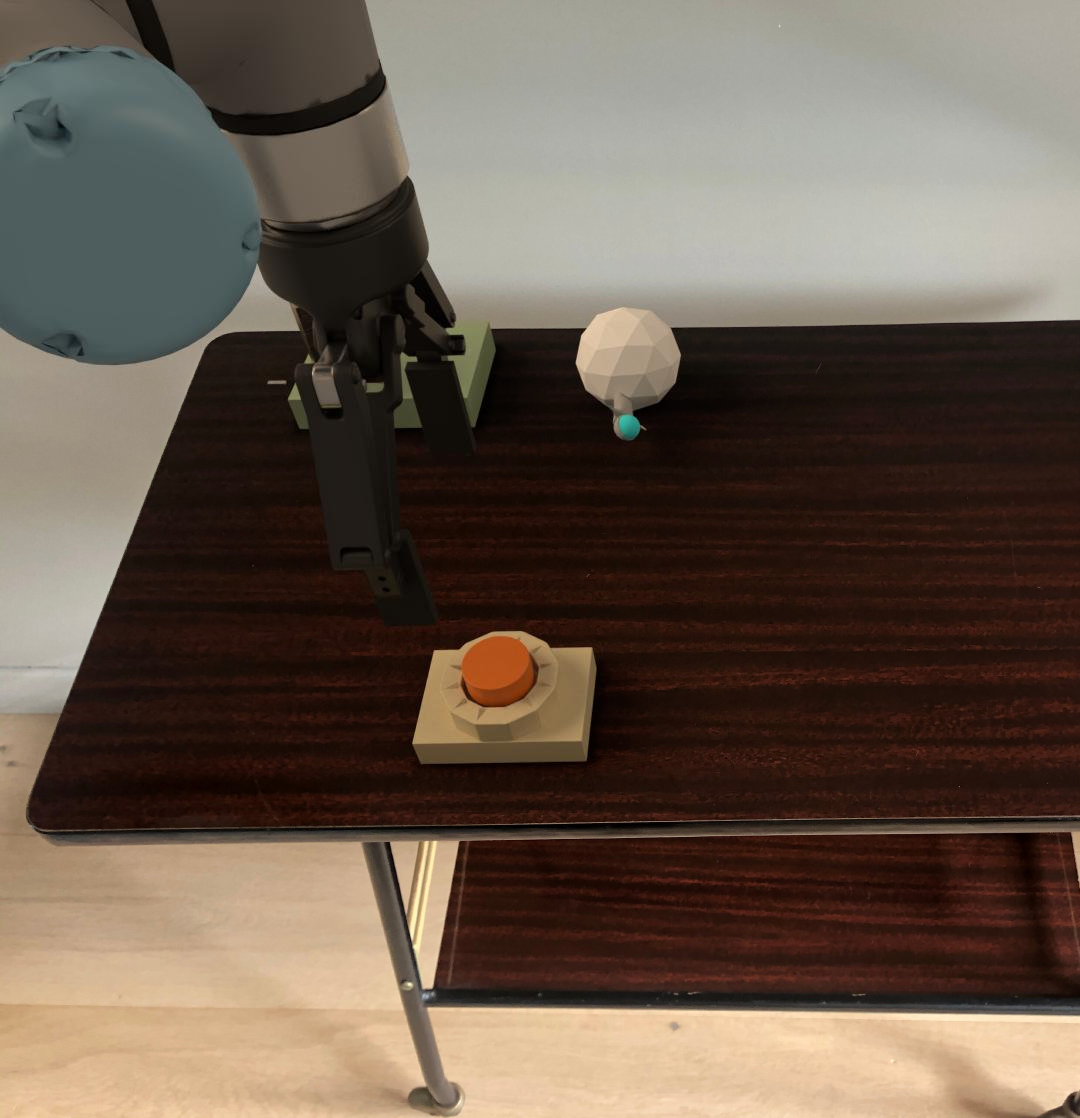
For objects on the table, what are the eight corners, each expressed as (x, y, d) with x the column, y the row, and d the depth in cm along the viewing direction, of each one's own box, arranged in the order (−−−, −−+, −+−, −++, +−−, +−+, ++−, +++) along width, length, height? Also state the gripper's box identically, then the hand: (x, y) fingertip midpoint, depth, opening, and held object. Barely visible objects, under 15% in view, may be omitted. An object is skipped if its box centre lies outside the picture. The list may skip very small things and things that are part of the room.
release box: (420, 764, 68) (404, 726, 65) (441, 671, 73) (427, 631, 70) (586, 761, 68) (577, 723, 65) (596, 668, 73) (588, 628, 70)
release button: (462, 707, 66) (455, 690, 65) (473, 654, 69) (467, 636, 68) (529, 706, 66) (524, 689, 65) (538, 652, 69) (533, 634, 68)
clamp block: (261, 455, 88) (247, 424, 85) (308, 352, 96) (296, 322, 94) (467, 453, 87) (459, 422, 85) (495, 350, 96) (488, 319, 94)
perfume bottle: (697, 324, 92) (708, 435, 85) (621, 373, 95) (625, 483, 88) (632, 266, 86) (639, 379, 79) (554, 321, 90) (554, 433, 83)
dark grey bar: (352, 400, 87) (316, 298, 80) (332, 407, 87) (293, 305, 80) (332, 359, 91) (296, 258, 84) (312, 365, 90) (274, 264, 83)
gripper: (309, 67, 58) (410, 393, 73) (138, 367, 41) (316, 709, 56) (455, 63, 58) (525, 390, 73) (345, 362, 41) (466, 705, 56)
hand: (434, 530), depth 65 cm, fingers open, 13 cm apart
